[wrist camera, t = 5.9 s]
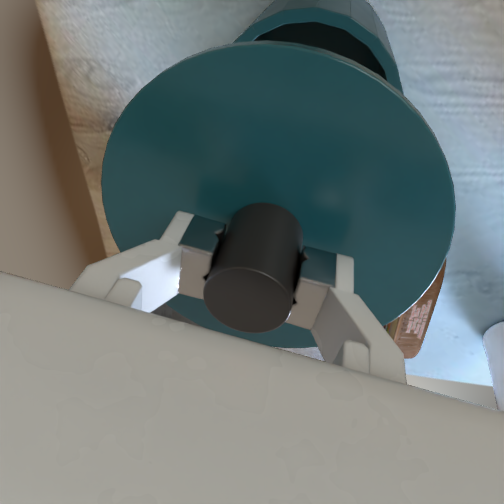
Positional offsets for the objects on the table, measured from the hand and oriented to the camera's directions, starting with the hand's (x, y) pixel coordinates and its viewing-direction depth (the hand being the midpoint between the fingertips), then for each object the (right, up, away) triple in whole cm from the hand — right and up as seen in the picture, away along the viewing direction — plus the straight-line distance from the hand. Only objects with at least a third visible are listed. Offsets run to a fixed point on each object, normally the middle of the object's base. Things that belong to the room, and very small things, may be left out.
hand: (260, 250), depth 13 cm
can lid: (0, +1, +1) cm, 1 cm away
